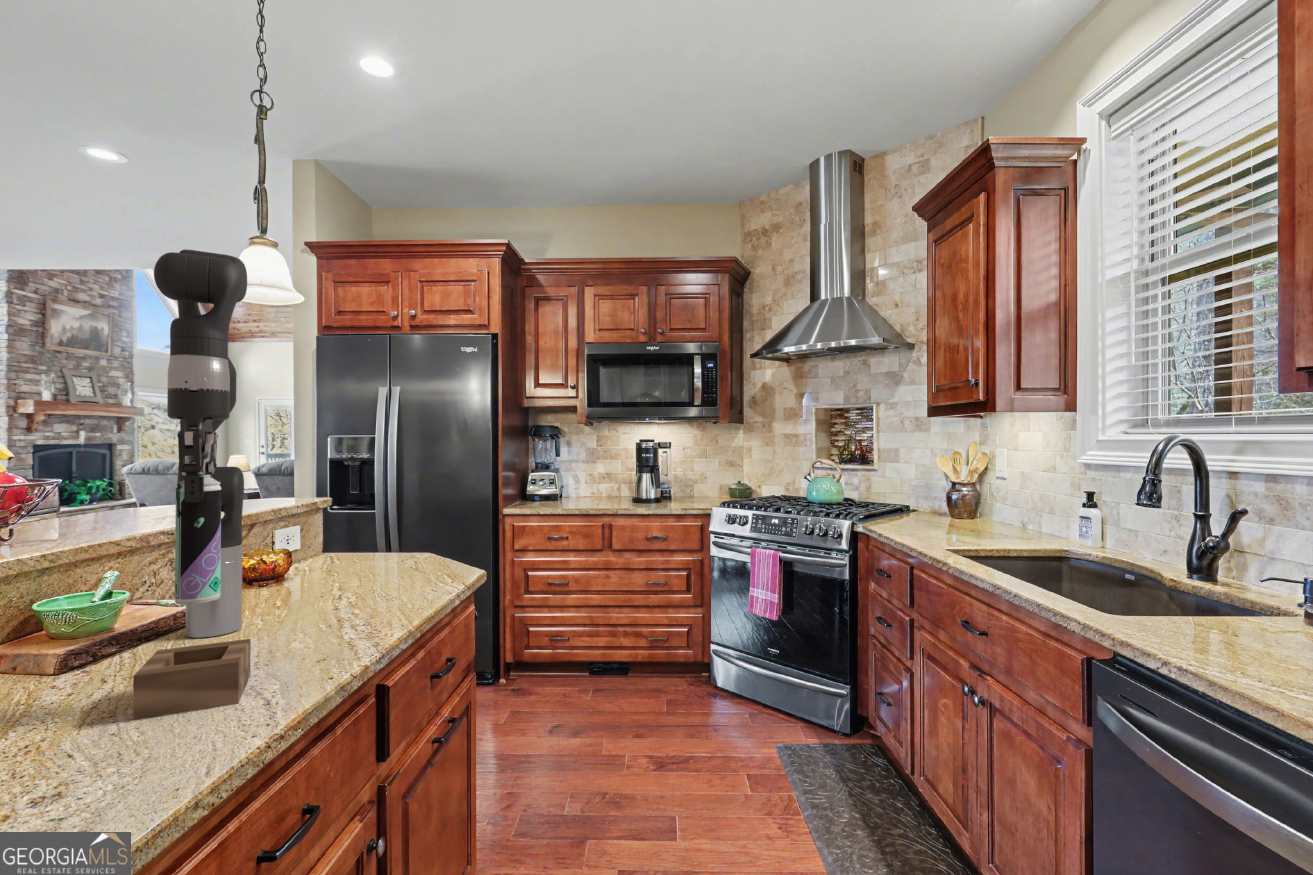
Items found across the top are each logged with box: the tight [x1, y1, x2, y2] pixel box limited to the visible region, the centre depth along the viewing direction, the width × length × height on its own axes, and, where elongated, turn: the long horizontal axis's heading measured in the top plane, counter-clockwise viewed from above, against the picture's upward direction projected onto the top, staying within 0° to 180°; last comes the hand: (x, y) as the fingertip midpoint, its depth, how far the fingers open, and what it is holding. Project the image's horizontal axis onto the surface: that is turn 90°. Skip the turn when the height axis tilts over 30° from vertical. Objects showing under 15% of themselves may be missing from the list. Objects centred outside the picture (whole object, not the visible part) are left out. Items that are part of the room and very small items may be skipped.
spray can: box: [174, 467, 222, 605], centre depth 92 cm, size 6×6×20 cm
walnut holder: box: [132, 638, 251, 721], centre depth 92 cm, size 12×12×6 cm
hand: (198, 499), depth 92 cm, fingers closed on spray can, 5 cm apart
